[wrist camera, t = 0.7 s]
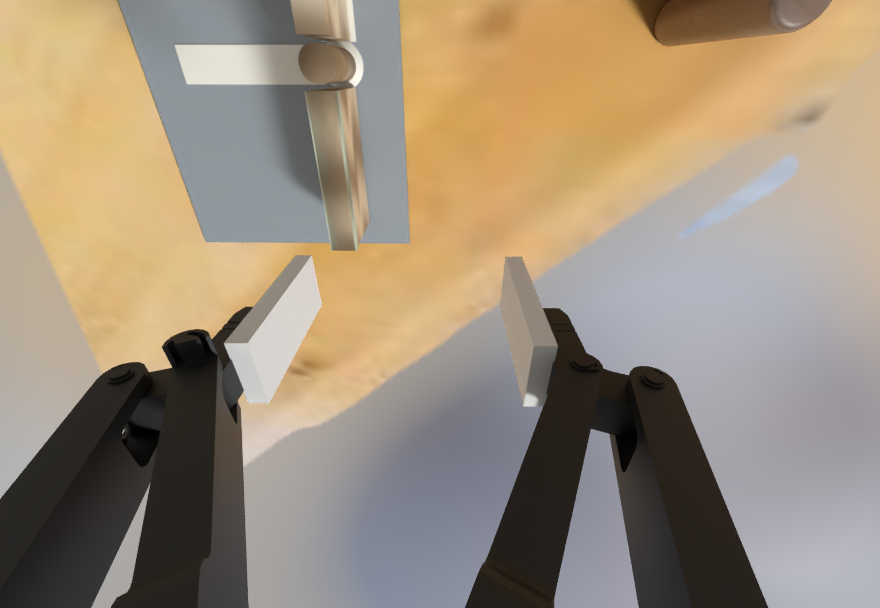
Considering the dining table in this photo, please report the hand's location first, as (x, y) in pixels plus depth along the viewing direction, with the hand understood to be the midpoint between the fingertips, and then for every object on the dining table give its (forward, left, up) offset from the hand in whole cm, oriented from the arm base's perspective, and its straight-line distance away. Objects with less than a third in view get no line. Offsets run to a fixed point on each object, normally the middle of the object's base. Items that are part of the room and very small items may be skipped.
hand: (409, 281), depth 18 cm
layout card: (-9, -13, -21) cm, 27 cm away
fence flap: (-1, -7, -21) cm, 22 cm away
